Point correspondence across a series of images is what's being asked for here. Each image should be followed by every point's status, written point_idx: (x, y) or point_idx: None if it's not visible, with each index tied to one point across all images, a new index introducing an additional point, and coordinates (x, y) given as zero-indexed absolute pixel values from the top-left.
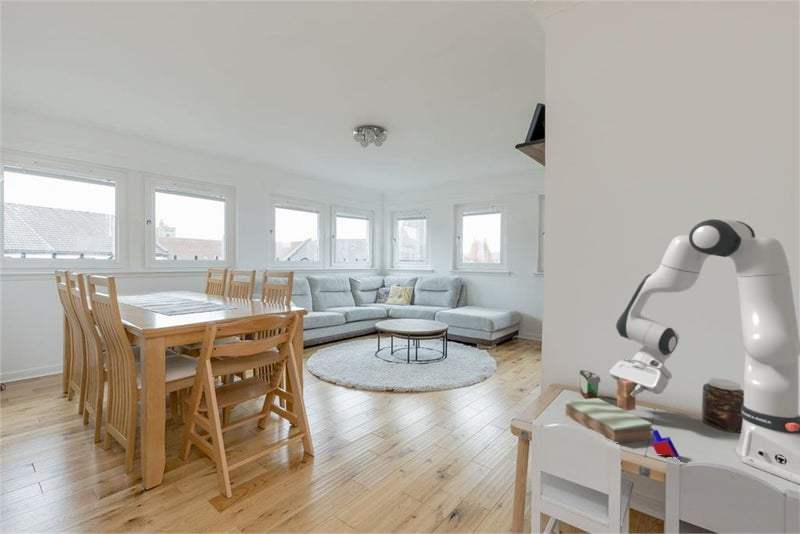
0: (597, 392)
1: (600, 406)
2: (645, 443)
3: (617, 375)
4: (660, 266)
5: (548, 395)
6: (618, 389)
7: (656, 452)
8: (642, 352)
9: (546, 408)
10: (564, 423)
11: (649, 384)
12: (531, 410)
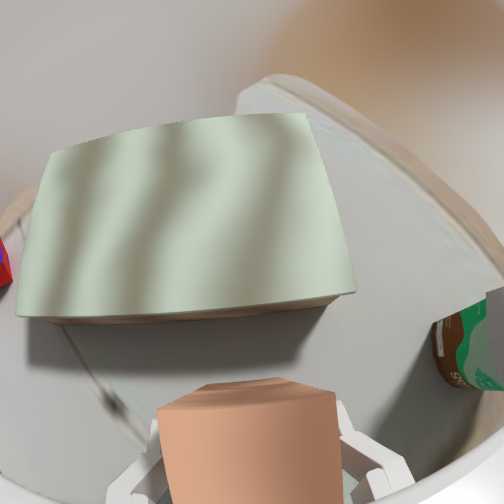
0: (468, 381)
1: (222, 216)
2: None
3: (453, 470)
4: None
5: (466, 209)
6: (283, 387)
7: (5, 249)
8: None
9: (353, 135)
10: None
11: (8, 501)
12: (331, 97)
